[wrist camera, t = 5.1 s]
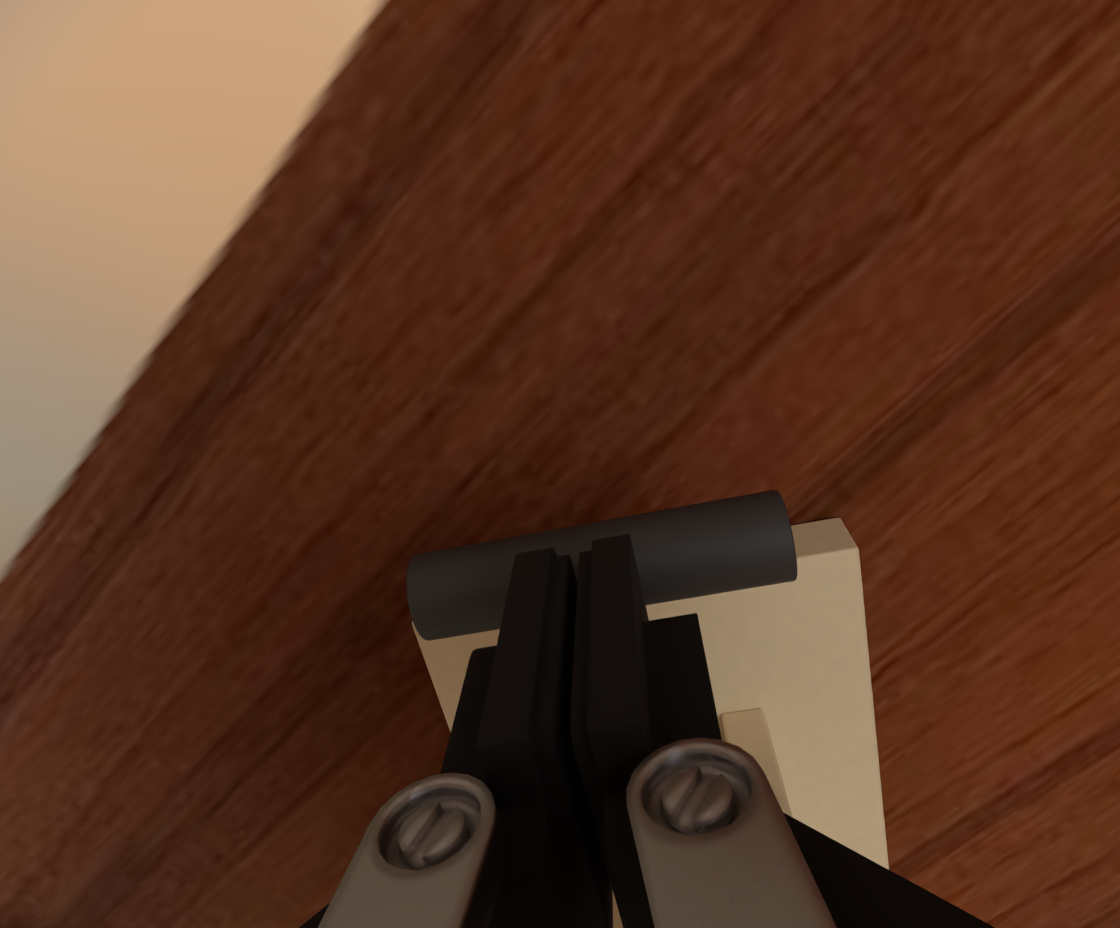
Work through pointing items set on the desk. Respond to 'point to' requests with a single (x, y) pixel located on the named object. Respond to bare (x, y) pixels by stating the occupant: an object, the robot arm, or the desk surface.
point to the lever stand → (775, 685)
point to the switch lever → (659, 547)
